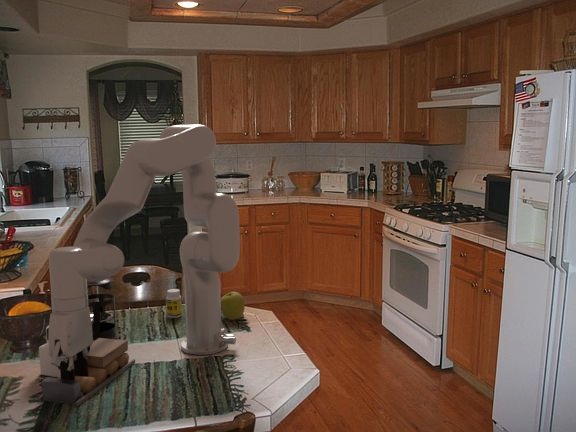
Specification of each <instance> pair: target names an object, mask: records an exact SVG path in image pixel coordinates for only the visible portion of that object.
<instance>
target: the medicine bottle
mask: <svg viewBox="0 0 576 432" xmlns="http://www.w3.org/2000/svg"><path fill="white" fill-rule="evenodd" d="M45 333H46V335H45V336H46V343H44V344H42V345H40V346H39V347H38V353H39V357H38V358H39V367H40V368H39V369H40V375H42V376H47V377H52V378H58V376H59V375H61V374H60V370H59V369H58V367H57V366H55V365H52V364H51V363H50V362H51V358H52V357H51V356H50V355H49V325H47V326H46V327H45ZM64 361H65V362H66V363H67V359H64ZM72 366H74V364H73V363H72Z"/></svg>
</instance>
